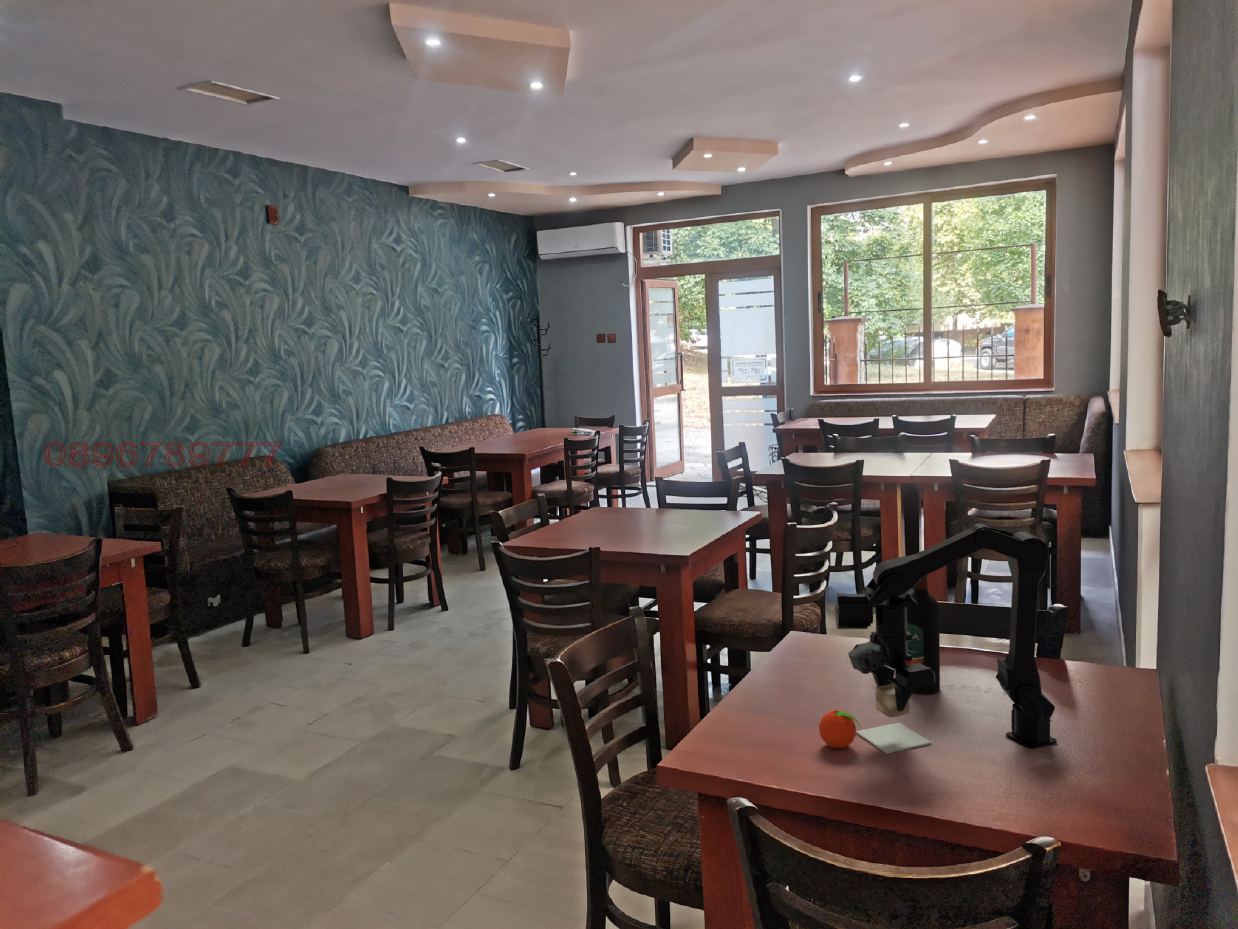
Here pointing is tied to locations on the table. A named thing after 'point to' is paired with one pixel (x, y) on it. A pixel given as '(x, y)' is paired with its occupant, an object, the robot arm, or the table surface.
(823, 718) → the clementine
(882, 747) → the pad
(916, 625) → the wine bottle
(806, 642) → the table surface
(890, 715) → the sandy foam cube
